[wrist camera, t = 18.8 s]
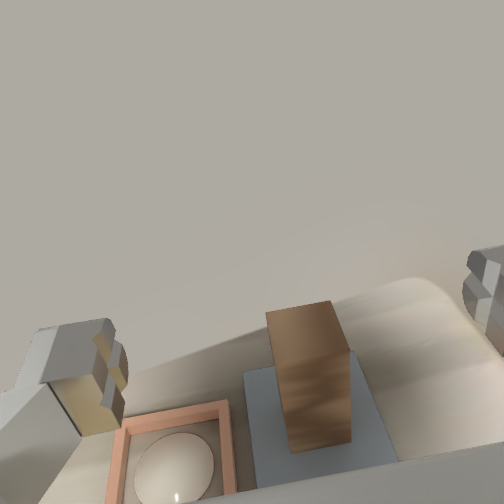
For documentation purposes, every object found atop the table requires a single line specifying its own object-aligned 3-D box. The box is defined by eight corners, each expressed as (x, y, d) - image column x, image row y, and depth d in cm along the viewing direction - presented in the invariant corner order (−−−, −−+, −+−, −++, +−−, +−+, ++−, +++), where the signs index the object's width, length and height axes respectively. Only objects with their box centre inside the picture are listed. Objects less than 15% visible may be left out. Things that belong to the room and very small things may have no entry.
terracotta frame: (105, 550, 29) (98, 542, 29) (121, 428, 37) (117, 419, 36) (240, 524, 30) (237, 516, 29) (229, 407, 37) (227, 398, 36)
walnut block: (290, 454, 32) (275, 363, 27) (280, 402, 36) (265, 312, 30) (351, 442, 32) (349, 349, 27) (334, 391, 36) (330, 300, 30)
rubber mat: (261, 519, 30) (260, 515, 29) (243, 376, 39) (242, 371, 39) (408, 490, 30) (409, 486, 29) (354, 355, 40) (354, 350, 39)
